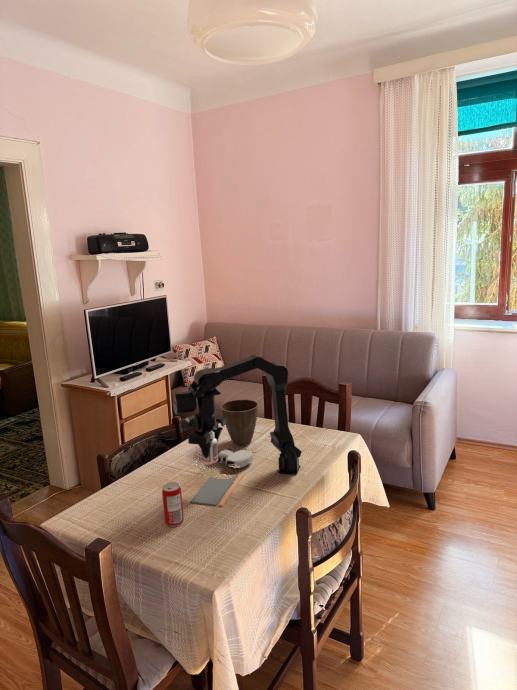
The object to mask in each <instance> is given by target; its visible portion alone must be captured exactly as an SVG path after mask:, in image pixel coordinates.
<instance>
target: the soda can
mask: <svg viewBox="0 0 517 690" xmlns="http://www.w3.org/2000/svg"><path fill="white" fill-rule="evenodd" d="M161 494H162V503H163V515H164V523H165V524H166V526H168V527H178V526H180V525H182V524H183V523H184V519H185V518H184V517H185V516H184V507H183V499H182V498H183V497H182V488H181V486H180V483H179V482H176V481H172V482H167V483H165V484H163V486H162V491H161Z"/></svg>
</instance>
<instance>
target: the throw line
mask: <svg viewBox="0 0 517 690" xmlns="http://www.w3.org/2000/svg"><path fill="white" fill-rule="evenodd" d="M242 477H244V474H238V476H237V478H236V479H235V480H234V482H233V483H232V485H231V486H230V487H229V489H228V490H227V492H226V493H225V494H224V496H223V497H222V499H221V500H220V502H219V503H218V507H222V508H223V507H224V506H225V503H226V502H227V501H228V499H229V498H230V497H231V495H232V494H233V492H234V491H235V489H236V488H237V487H238V485H239V484H240V480H241V481H242V479H243V478H242Z"/></svg>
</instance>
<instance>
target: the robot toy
mask: <svg viewBox="0 0 517 690" xmlns="http://www.w3.org/2000/svg"><path fill="white" fill-rule="evenodd" d="M256 453H258V452H257V451H253V452H252V451H250V450H245V449H241V450H237V451H233V450H232V448H226V449H224V450H223V449H222V450H219V451H218V461H217V462H215V463H217V464H218V463H221V462H223V463H222V464H225V465H226V467H228V466H235V465H237V466H239V465H240V468H239V469H241V468H244V467H245V466H248V464H250V463H251V462H252V461H253V460H254V457H253V456H254V455H253V454H256ZM215 463H214V464H215Z"/></svg>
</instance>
